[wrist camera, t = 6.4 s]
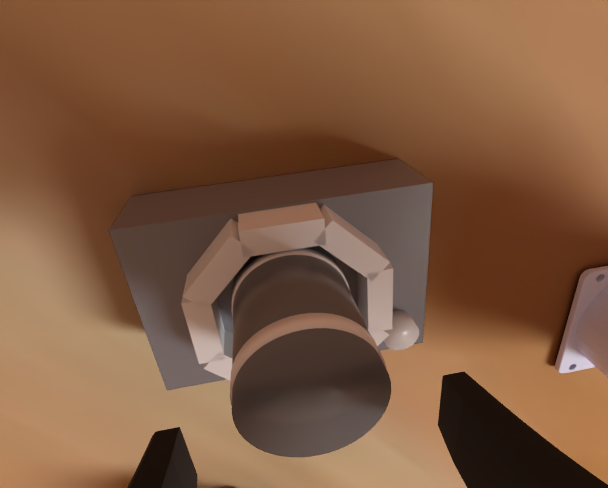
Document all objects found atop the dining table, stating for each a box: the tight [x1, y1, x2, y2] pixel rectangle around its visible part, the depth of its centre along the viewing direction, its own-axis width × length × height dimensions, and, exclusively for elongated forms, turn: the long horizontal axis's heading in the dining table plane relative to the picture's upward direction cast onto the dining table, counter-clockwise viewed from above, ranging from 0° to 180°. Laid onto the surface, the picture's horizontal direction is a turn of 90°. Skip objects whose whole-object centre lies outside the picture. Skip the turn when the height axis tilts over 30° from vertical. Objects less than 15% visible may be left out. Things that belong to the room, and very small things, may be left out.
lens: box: [230, 246, 391, 457], centre depth 13 cm, size 4×4×6 cm
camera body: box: [108, 159, 433, 390], centre depth 17 cm, size 12×8×5 cm, turn 95°
